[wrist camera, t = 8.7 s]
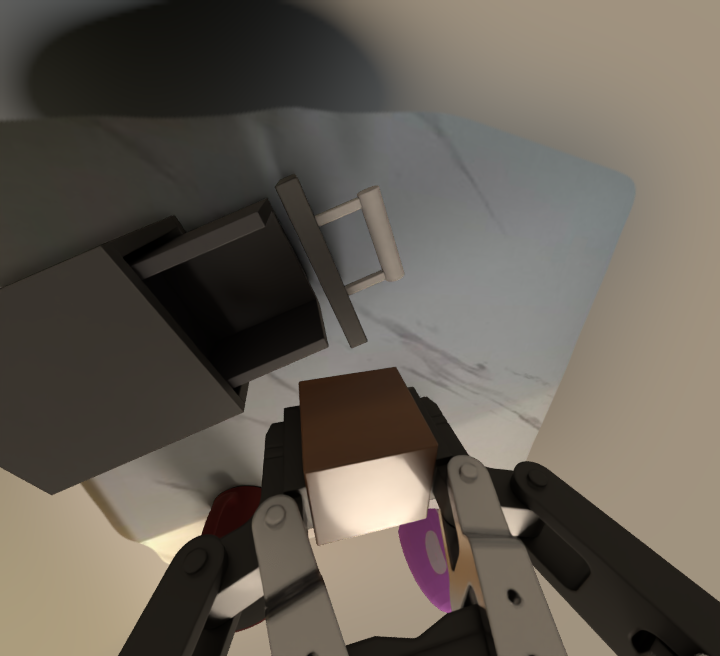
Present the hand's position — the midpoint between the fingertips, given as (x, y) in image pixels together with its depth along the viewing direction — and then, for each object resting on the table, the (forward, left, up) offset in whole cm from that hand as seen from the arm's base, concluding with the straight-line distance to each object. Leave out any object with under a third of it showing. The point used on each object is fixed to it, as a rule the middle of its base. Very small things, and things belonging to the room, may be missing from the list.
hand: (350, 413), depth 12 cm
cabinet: (+12, -7, -16) cm, 21 cm away
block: (0, 0, 0) cm, 0 cm away
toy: (+10, +31, -16) cm, 36 cm away
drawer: (+1, -4, -15) cm, 15 cm away
